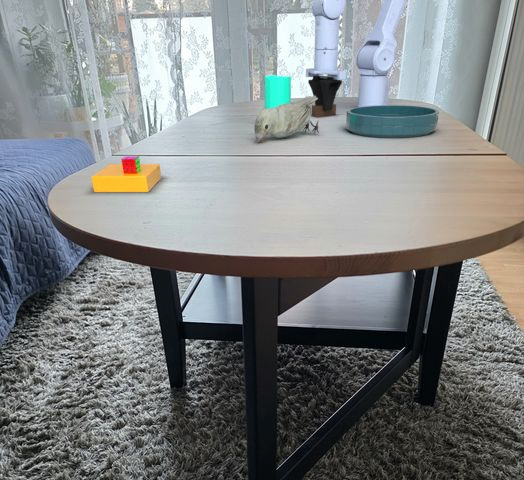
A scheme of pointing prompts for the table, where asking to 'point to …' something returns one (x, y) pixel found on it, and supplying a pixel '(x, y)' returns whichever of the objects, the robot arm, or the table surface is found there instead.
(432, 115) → the bowl
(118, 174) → the yellow slab
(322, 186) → the table surface
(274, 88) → the candle
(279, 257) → the table surface
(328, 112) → the brown block
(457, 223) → the table surface
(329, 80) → the robot arm
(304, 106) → the decorative bird
